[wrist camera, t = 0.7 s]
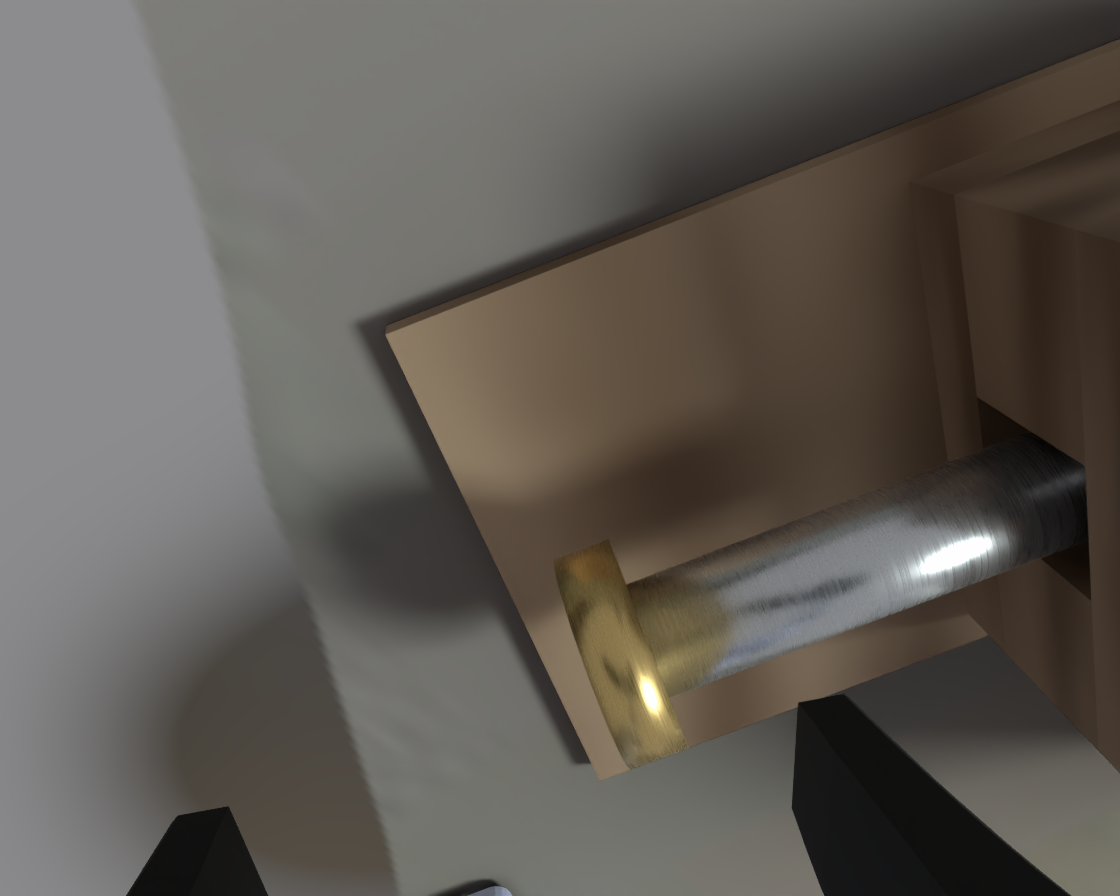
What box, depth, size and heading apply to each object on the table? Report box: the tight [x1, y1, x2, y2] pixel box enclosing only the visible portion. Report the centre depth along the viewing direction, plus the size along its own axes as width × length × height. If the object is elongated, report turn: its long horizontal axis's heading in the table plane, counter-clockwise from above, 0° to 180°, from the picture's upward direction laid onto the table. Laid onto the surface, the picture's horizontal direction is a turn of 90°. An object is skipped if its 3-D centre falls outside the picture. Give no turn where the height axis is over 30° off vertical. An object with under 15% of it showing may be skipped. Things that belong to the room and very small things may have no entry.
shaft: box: [554, 431, 1089, 770], centre depth 17 cm, size 11×4×4 cm, turn 109°
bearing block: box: [385, 39, 1120, 781], centre depth 17 cm, size 22×14×6 cm, turn 109°
